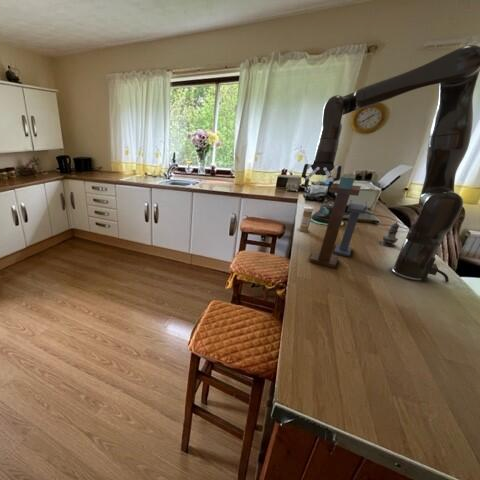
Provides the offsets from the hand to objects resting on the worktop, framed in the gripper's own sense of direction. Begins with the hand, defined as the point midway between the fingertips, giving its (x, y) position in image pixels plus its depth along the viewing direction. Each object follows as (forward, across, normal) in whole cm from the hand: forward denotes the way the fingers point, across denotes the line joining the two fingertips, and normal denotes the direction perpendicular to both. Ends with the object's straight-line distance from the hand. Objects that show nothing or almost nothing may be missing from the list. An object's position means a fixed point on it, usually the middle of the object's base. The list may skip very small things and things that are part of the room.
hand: (317, 189), depth 112 cm
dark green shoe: (+28, +3, +54) cm, 60 cm away
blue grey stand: (+28, +15, +5) cm, 32 cm away
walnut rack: (+28, +10, -12) cm, 32 cm away
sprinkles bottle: (+28, -4, +24) cm, 37 cm away
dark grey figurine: (+28, +32, +29) cm, 52 cm away
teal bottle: (-4, +10, -8) cm, 14 cm away
